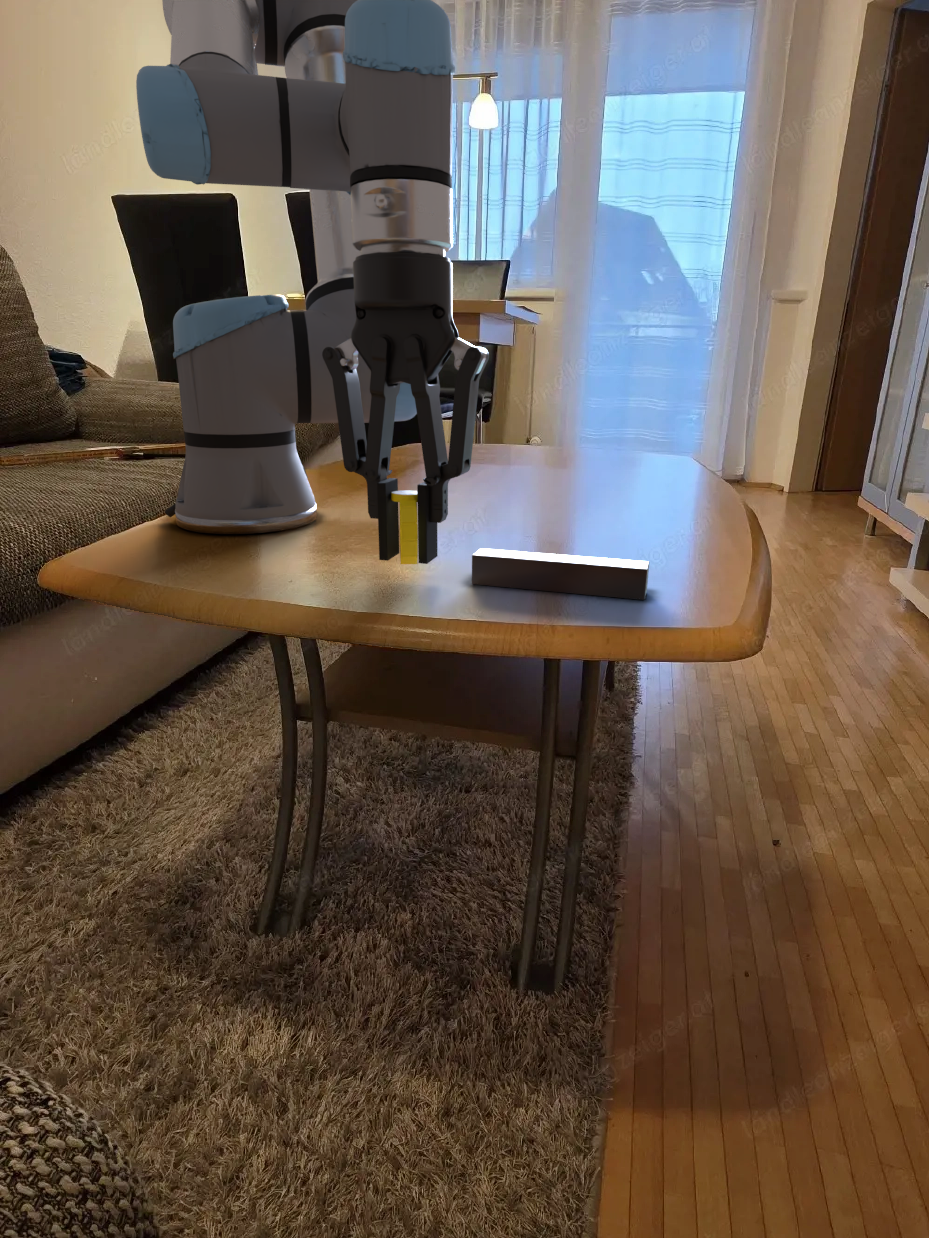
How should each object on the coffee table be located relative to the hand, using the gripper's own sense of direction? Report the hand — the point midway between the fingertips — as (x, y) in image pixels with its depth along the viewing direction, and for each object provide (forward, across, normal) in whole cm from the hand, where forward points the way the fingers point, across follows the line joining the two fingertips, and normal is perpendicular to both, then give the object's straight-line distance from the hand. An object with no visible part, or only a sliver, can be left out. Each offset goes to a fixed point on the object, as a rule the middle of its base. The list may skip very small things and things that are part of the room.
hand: (408, 557), depth 64 cm
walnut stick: (+2, +13, 0) cm, 13 cm away
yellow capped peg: (+1, 0, 0) cm, 1 cm away
